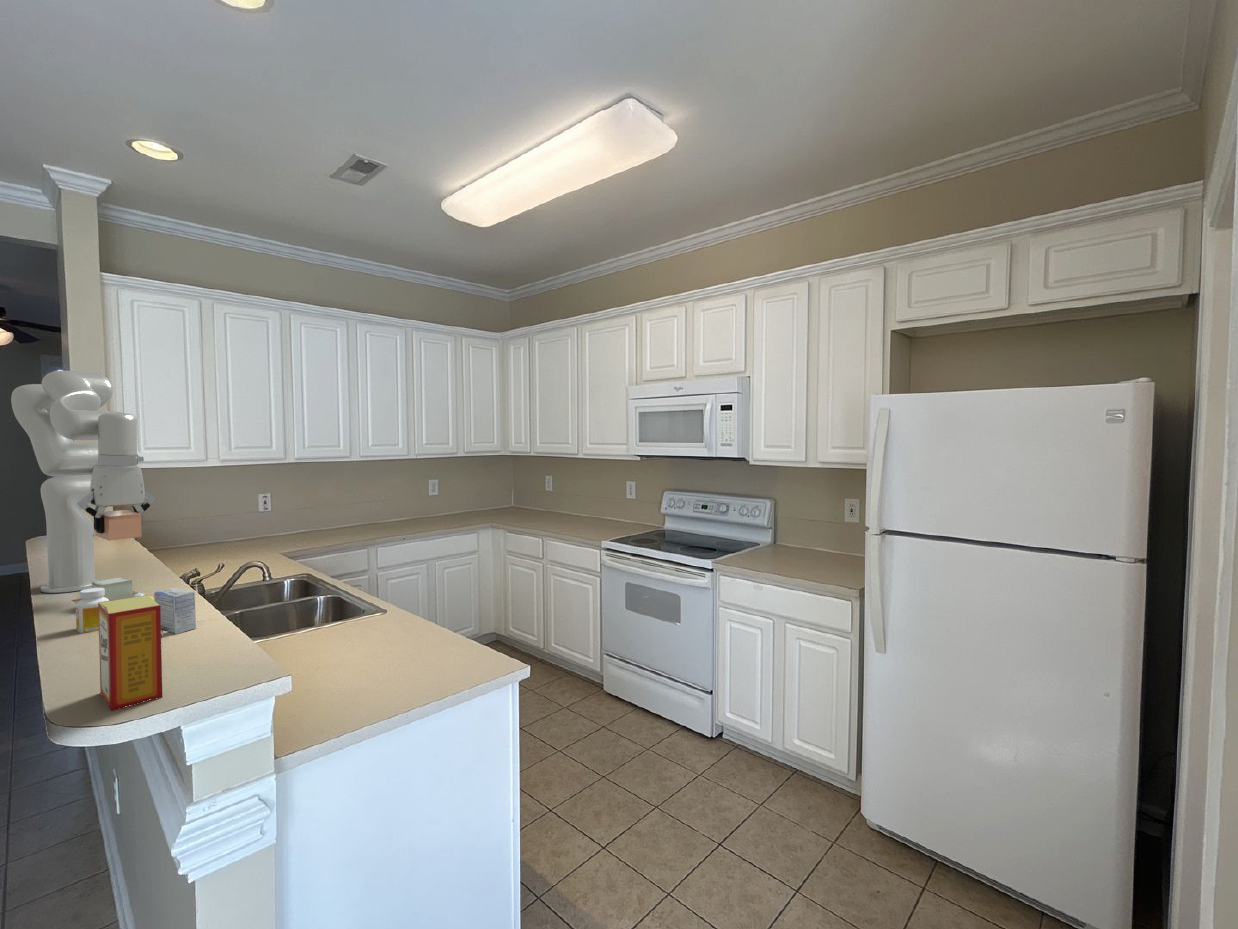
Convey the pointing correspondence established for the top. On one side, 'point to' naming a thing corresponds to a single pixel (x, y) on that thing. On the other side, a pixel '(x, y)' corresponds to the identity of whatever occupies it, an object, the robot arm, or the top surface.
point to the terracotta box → (121, 525)
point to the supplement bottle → (89, 609)
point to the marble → (138, 594)
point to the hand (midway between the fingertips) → (118, 530)
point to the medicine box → (176, 609)
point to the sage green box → (115, 588)
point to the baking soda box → (130, 651)
